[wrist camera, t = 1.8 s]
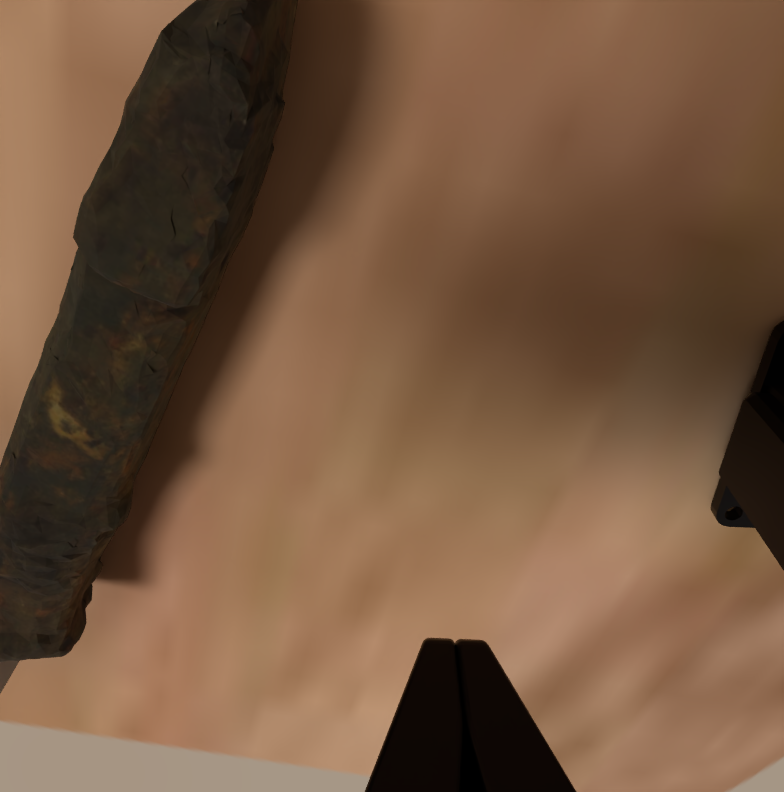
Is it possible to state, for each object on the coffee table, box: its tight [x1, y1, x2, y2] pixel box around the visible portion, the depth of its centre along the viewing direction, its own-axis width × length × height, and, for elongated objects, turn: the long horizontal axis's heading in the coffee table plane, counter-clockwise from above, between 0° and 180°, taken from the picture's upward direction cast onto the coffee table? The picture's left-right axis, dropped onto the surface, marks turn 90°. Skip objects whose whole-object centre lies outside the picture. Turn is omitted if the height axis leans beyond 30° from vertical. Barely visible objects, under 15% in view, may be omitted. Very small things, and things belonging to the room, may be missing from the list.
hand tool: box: [0, 0, 298, 662], centre depth 16 cm, size 19×4×5 cm, turn 148°
